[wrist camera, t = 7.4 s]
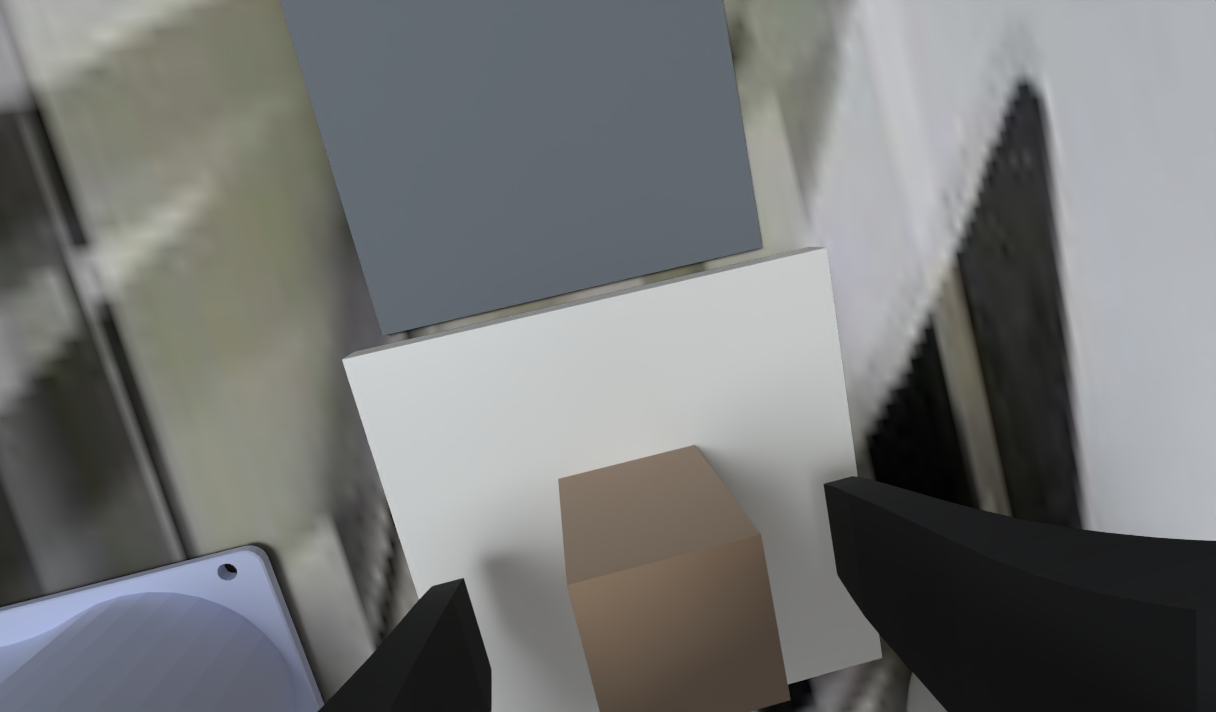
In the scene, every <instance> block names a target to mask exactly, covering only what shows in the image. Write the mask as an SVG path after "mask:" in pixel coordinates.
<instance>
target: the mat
mask: <svg viewBox="0 0 1216 712" xmlns="http://www.w3.org/2000/svg"><path fill="white" fill-rule="evenodd" d="M280 3H281V6H282V9H283V12H284V16H285V19H286V22H287V25H288V29H289V32H290V35H291V38H292V42H293V45H294V48H295V51H296V55H297V58H298V61H299V65H300V68H301V71H302V74H303V78H304V81H305V84H306V87H307V91H308V94H309V97H310V100H311V104H312V107H313V110H314V113H315V117H316V120H317V123H318V126H319V130H320V133H321V136H322V139H323V143H324V146H325V149H326V152H327V156H328V159H329V162H330V165H331V169H332V172H333V175H334V178H335V182H336V185H337V188H338V191H339V195H340V198H341V201H342V205H343V208H344V211H345V214H346V218H347V221H348V224H349V227H350V231H351V234H352V237H353V240H354V244H355V247H356V250H357V253H358V257H359V260H360V263H361V266H362V270H363V273H364V276H365V279H366V283H367V286H368V289H369V292H370V296H371V299H372V302H373V305H374V309H375V312H376V315H377V318H378V322H379V325H380V328H381V332H382V335H383V336H384V335H388V334H393V333H397V332H401V331H405V330H410V329H414V328H418V327H423V326H427V325H431V324H436V323H440V322H444V321H448V320H453V319H457V318H461V317H466V316H470V315H474V314H478V313H483V312H487V311H491V310H496V309H500V308H504V307H509V306H513V305H517V304H521V303H526V302H530V301H534V300H539V299H543V298H547V297H551V296H556V295H560V294H564V293H569V292H573V291H577V290H582V289H586V288H590V287H594V286H599V285H603V284H607V283H612V282H616V281H620V280H624V279H629V278H633V277H637V276H642V275H646V274H650V273H655V272H659V271H663V270H667V269H672V268H676V267H680V266H685V265H689V264H693V263H697V262H702V261H706V260H710V259H715V258H719V257H723V256H728V255H732V254H736V253H740V252H745V251H749V250H753V249H758V248H762V247H763V246H762V240H761V234H760V228H759V222H758V216H757V209H756V203H755V197H754V191H753V185H752V178H751V172H750V166H749V160H748V154H747V148H746V141H745V135H744V129H743V123H742V117H741V110H740V104H739V98H738V92H737V86H736V80H735V73H734V67H733V61H732V55H731V49H730V42H729V36H728V30H727V24H726V18H725V12H724V5H723V0H280Z"/></svg>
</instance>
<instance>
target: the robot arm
mask: <svg viewBox="0 0 1216 712" xmlns="http://www.w3.org/2000/svg"><path fill="white" fill-rule="evenodd" d="M823 485H824V492H825V498H826V505H827V511H828V518H829V524H830V531H831V537H832V544H833V550H834V557H835V564H836V570H837V575H838V577H839V578H840V580H841V582H842V583H843V585H844V586H845V588H846V589H847V591H848V593H849V594H850V596H851V597H852V599H853V600H854V602H855V603H856V605H857V606H858V607H859V609H860V610H861V612H862V613H863V615H864V616H865V618H866V619H867V620H868V621H869V622H870V624H871V625H872V626H873V627H874V628H875V630H876V631H877V632H878V633H879V634H880V635H881V637H882V638H883V639H884V640H885V641H886V642H887V643H888V645H889V646H890V647H891V648H892V649H893V650H894V652H895V653H896V654H897V655H898V656H899V657H900V658H901V660H902V661H903V662H904V663H905V664H906V665H907V666H908V667H909V669H910V670H911V671H912V672H913V673H914V674H915V675H916V677H917V678H918V679H919V680H920V681H921V682H922V683H923V685H924V686H925V687H926V688H927V689H928V690H929V691H930V693H931V694H932V695H933V696H934V697H935V698H936V699H937V701H938V702H939V703H940V704H941V705H942V706H943V707H944V708H945V710H946V711H947V712H1216V541H1203V540H1184V539H1168V538H1154V537H1144V536H1134V535H1124V534H1114V533H1105V532H1097V531H1089V530H1082V529H1075V528H1069V527H1063V526H1057V525H1051V524H1045V523H1039V522H1033V521H1028V520H1023V519H1018V518H1013V517H1009V516H1005V515H1000V514H996V513H992V512H987V511H983V510H979V509H975V508H971V507H967V506H963V505H959V504H955V503H952V502H948V501H944V500H941V499H937V498H934V497H930V496H927V495H923V494H920V493H916V492H913V491H909V490H906V489H902V488H899V487H895V486H892V485H888V484H885V483H881V482H878V481H874V480H870V479H866V478H861V477H855V476H851V477H847V478H843V479H840V480H836V481H832V482H828V483H824V484H823ZM225 564H231V565H233V566H234V567H235V568H236V569H237V573H231V572H229V571H227V569H226V568H225ZM491 711H492V669H491V666H490V662H489V659H488V656H487V652H486V649H485V646H484V643H483V639H482V636H481V633H480V629H479V626H478V623H477V620H476V616H475V613H474V610H473V606H472V603H471V600H470V597H469V593H468V590H467V587H466V583H465V580H464V578H461V579H457V580H454V581H450V582H446V583H442V584H438V585H434V586H432V587H431V588H430V589H429V590H428V591H427V592H426V593H425V594H424V595H423V596H422V597H421V598H420V599H419V601H418V602H417V603H416V604H415V605H414V606H413V608H412V609H411V610H410V611H409V612H408V613H407V615H406V616H405V617H404V618H403V619H402V621H401V622H400V623H399V624H398V625H397V626H396V628H395V629H394V630H393V631H392V632H391V633H390V635H389V636H388V637H387V638H386V639H385V640H384V641H383V643H382V644H381V645H380V646H379V647H378V648H377V650H376V651H375V652H374V653H373V654H372V655H371V656H370V657H369V659H368V660H367V661H366V662H365V663H364V664H363V665H362V666H361V667H360V668H359V669H358V670H357V671H356V672H355V673H354V674H353V676H352V677H351V678H350V679H349V680H348V681H347V682H346V683H345V684H344V685H343V686H342V687H341V688H340V689H339V690H338V691H337V693H336V694H335V695H334V696H333V697H332V698H331V699H330V700H329V701H328V702H327V703H326V704H325V705H324V702H323V700H322V697H321V695H320V692H319V689H318V687H317V684H316V681H315V679H314V676H313V674H312V671H311V668H310V666H309V663H308V660H307V658H306V655H305V653H304V650H303V647H302V645H301V642H300V639H299V637H298V634H297V632H296V629H295V626H294V624H293V621H292V618H291V616H290V613H289V611H288V608H287V605H286V603H285V600H284V597H283V595H282V592H281V589H280V587H279V584H278V582H277V579H276V576H275V574H274V571H273V568H272V566H271V563H270V561H269V558H268V556H267V554H266V553H265V551H263V550H262V549H261V548H259V547H256V546H252V545H251V546H242V547H239V548H235V549H231V550H227V551H223V552H219V553H215V554H211V555H207V556H203V557H199V558H195V559H191V560H187V561H183V562H179V563H175V564H171V565H167V566H163V567H159V568H155V569H151V570H147V571H143V572H139V573H135V574H131V575H127V576H123V577H119V578H116V579H112V580H108V581H104V582H100V583H96V584H92V585H88V586H84V587H80V588H76V589H72V590H68V591H64V592H60V593H56V594H52V595H48V596H44V597H40V598H36V599H32V600H28V601H24V602H20V603H16V604H12V605H8V606H4V607H0V712H491Z"/></svg>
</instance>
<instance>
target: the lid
mask: <svg viewBox="0 0 1216 712" xmlns="http://www.w3.org/2000/svg"><path fill="white" fill-rule="evenodd" d="M342 361H343V364H344V367H345V370H346V373H347V377H348V380H349V383H350V386H351V389H352V392H353V395H354V398H355V401H356V405H357V408H358V411H359V414H360V417H361V420H362V423H363V426H364V429H365V433H366V436H367V439H368V442H369V445H370V448H371V451H372V454H373V457H374V461H375V464H376V467H377V470H378V473H379V476H380V479H381V482H382V485H383V489H384V492H385V495H386V498H387V501H388V504H389V507H390V510H391V513H392V517H393V520H394V523H395V526H396V529H397V532H398V535H399V538H400V541H401V545H402V548H403V551H404V554H405V557H406V560H407V563H408V566H409V569H410V573H411V576H412V579H413V582H414V585H415V588H416V591H417V594H418V598H419V599H420V598H421V597H422V596H423V595H424V594H425V593H426V592H427V591H428V590H429V589H430V588H431V587H432V586H434V585H438V584H442V583H446V582H450V581H454V580H457V579H461V578H464V580H465V583H466V587H467V590H468V593H469V597H470V600H471V603H472V606H473V610H474V613H475V616H476V620H477V623H478V626H479V629H480V633H481V636H482V639H483V643H484V646H485V649H486V652H487V656H488V659H489V662H490V666H491V669H492V711H491V712H750V711H753V710H757V709H760V708H764V707H768V706H771V705H775V704H778V703H782V702H785V701H789V700H790V694H789V689H788V684H791V683H795V682H798V681H802V680H805V679H809V678H812V677H816V676H820V675H823V674H827V673H830V672H834V671H837V670H841V669H845V668H848V667H852V666H855V665H859V664H862V663H866V662H870V661H873V660H877V659H880V658H882V652H881V645H880V638H879V633H878V632H877V631H876V630H875V628H874V627H873V626H872V625H871V624H870V622H869V621H868V620H867V619H866V618H865V616H864V615H863V613H862V612H861V610H860V609H859V607H858V606H857V605H856V603H855V602H854V600H853V599H852V597H851V596H850V594H849V593H848V591H847V589H846V588H845V586H844V585H843V583H842V582H841V580H840V578H839V577H838V575H837V570H836V564H835V557H834V550H833V544H832V537H831V531H830V524H829V518H828V511H827V505H826V498H825V492H824V485H823V484H824V483H828V482H832V481H836V480H840V479H843V478H847V477H851V476H855V477H858V476H857V468H856V461H855V453H854V446H853V439H852V431H851V424H850V417H849V409H848V402H847V395H846V387H845V380H844V372H843V365H842V358H841V350H840V343H839V336H838V328H837V321H836V313H835V306H834V299H833V291H832V284H831V277H830V269H829V262H828V254H827V248H822V247H807V248H803V249H799V250H794V251H790V252H786V253H781V254H777V255H773V256H768V257H764V258H760V259H755V260H751V261H747V262H742V263H738V264H734V265H729V266H725V267H721V268H716V269H712V270H708V271H703V272H699V273H695V274H690V275H686V276H682V277H677V278H673V279H669V280H664V281H660V282H655V283H651V284H647V285H642V286H638V287H634V288H629V289H625V290H621V291H616V292H612V293H608V294H603V295H599V296H595V297H590V298H586V299H582V300H577V301H573V302H569V303H564V304H560V305H556V306H551V307H547V308H543V309H538V310H534V311H530V312H525V313H521V314H517V315H512V316H508V317H504V318H499V319H495V320H491V321H486V322H482V323H478V324H473V325H469V326H465V327H460V328H456V329H452V330H447V331H443V332H439V333H434V334H430V335H426V336H421V337H417V338H413V339H408V340H404V341H400V342H395V343H391V344H387V345H382V346H378V347H374V348H369V349H365V350H361V351H356V352H353V353H352V354H350V355H349V356H347V357H345V358H344V359H342Z"/></svg>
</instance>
